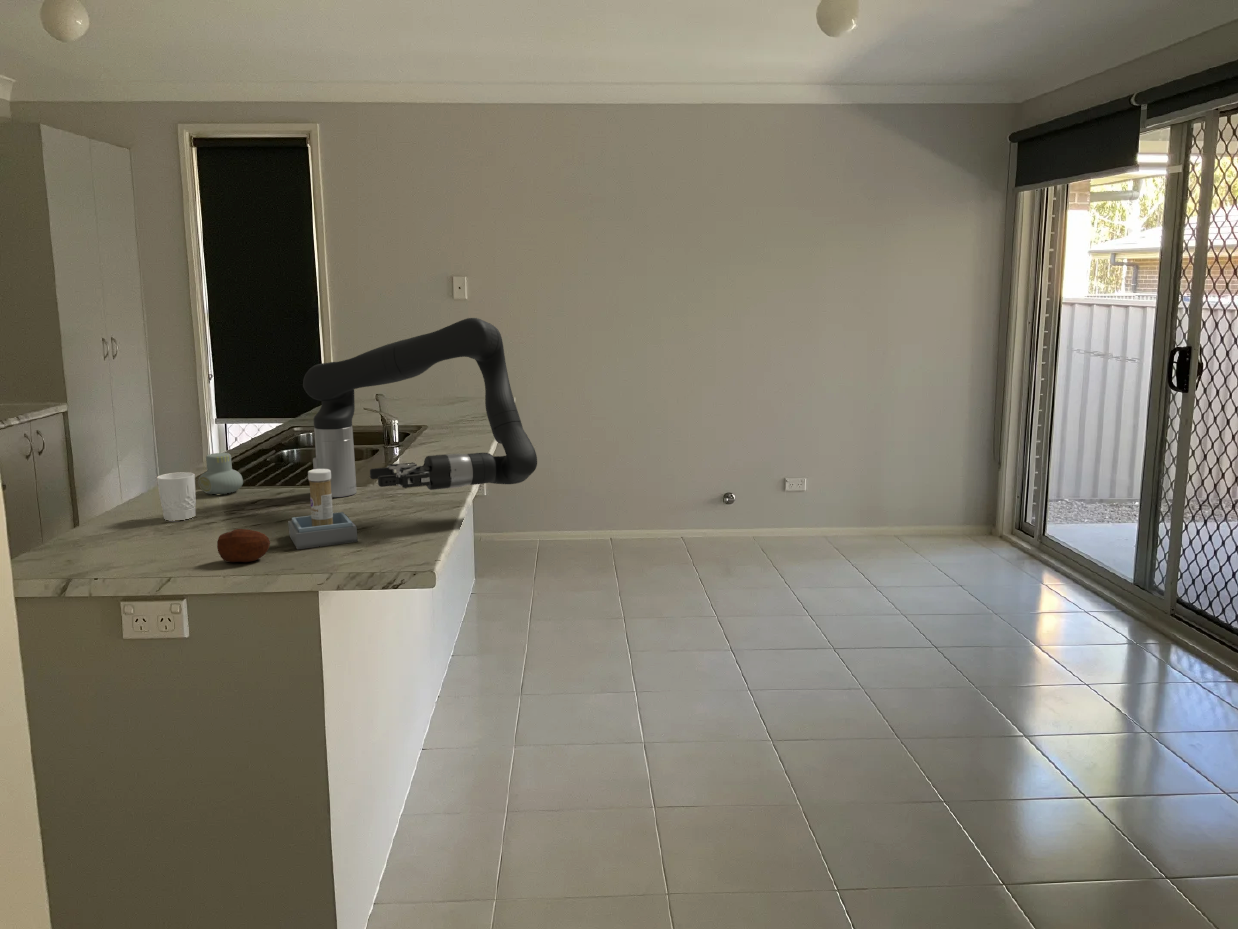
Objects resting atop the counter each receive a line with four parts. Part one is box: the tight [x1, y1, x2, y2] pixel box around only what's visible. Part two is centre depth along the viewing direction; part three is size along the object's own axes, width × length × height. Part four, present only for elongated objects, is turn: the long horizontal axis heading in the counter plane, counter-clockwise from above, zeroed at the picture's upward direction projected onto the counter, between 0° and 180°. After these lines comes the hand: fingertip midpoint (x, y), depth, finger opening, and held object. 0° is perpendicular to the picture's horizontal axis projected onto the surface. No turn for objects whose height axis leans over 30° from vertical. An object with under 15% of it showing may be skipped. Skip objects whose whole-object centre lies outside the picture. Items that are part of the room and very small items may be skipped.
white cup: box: [156, 471, 197, 522], centre depth 221 cm, size 8×8×10 cm
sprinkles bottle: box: [307, 468, 334, 527], centre depth 201 cm, size 5×5×14 cm
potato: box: [216, 528, 271, 563], centre depth 187 cm, size 7×9×6 cm
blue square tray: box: [287, 511, 359, 550], centre depth 202 cm, size 12×12×4 cm
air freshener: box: [197, 452, 244, 495], centre depth 247 cm, size 11×8×10 cm
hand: (374, 477), depth 206 cm, fingers open, 8 cm apart
